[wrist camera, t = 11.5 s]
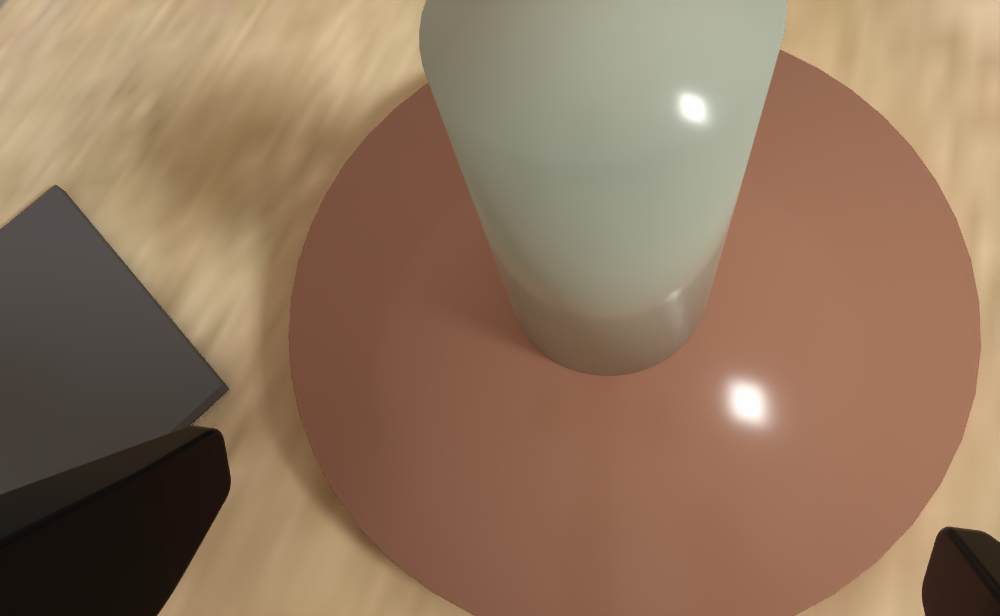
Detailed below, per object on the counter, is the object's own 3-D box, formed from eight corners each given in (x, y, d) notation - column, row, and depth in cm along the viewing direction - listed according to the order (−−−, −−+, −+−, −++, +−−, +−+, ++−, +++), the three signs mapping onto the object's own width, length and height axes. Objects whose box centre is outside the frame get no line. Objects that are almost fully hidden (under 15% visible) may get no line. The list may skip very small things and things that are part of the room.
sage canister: (538, 400, 17) (461, 213, 9) (490, 227, 19) (390, -55, 11) (740, 342, 17) (853, 94, 9) (669, 173, 19) (706, -157, 11)
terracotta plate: (637, 839, 14) (639, 858, 13) (195, 320, 21) (172, 305, 20) (1104, 272, 17) (1137, 249, 16) (590, -32, 24) (588, -62, 23)
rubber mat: (-71, 665, 18) (-85, 666, 18) (-197, 404, 22) (-211, 401, 22) (229, 388, 20) (221, 384, 19) (64, 190, 24) (55, 184, 23)
